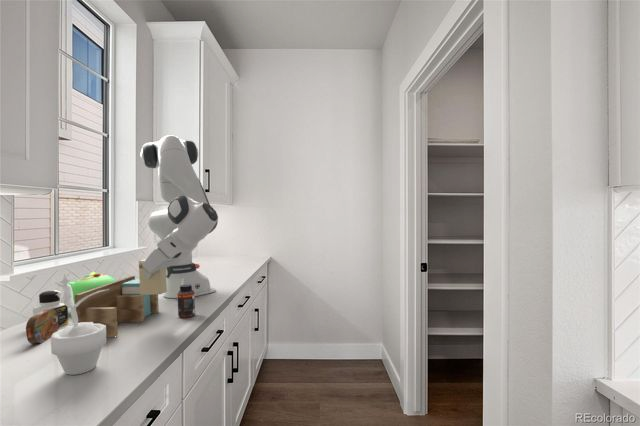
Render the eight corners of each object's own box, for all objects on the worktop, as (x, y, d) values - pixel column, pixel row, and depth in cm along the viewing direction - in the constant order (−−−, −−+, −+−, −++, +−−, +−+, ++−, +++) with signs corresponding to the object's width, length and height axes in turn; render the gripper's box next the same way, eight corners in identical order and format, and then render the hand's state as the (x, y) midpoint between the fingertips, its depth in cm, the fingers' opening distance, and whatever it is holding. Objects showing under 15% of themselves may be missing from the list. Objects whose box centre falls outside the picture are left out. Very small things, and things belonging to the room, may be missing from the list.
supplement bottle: (198, 315, 135) (197, 284, 135) (184, 319, 130) (183, 287, 130) (188, 312, 139) (187, 282, 139) (174, 316, 134) (173, 286, 134)
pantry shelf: (158, 311, 141) (157, 275, 141) (109, 340, 111) (107, 294, 111) (132, 311, 142) (130, 275, 141) (76, 340, 112) (74, 294, 111)
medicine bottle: (48, 330, 122) (46, 294, 122) (33, 328, 125) (31, 293, 124) (68, 323, 129) (67, 289, 129) (54, 321, 131) (53, 288, 131)
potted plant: (42, 384, 84) (38, 275, 83) (64, 363, 95) (61, 267, 95) (103, 376, 87) (99, 271, 86) (118, 357, 98) (115, 264, 98)
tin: (36, 347, 107) (35, 318, 107) (24, 348, 107) (22, 319, 106) (61, 330, 122) (60, 305, 122) (50, 331, 121) (49, 306, 121)
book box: (167, 291, 123) (165, 258, 123) (161, 294, 119) (159, 260, 119) (146, 291, 124) (145, 259, 123) (139, 294, 120) (138, 261, 119)
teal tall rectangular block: (150, 313, 139) (149, 279, 138) (140, 319, 132) (139, 283, 131) (134, 313, 139) (133, 279, 139) (123, 319, 132) (121, 283, 132)
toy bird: (91, 317, 136) (90, 277, 136) (56, 314, 141) (54, 276, 140) (128, 304, 154) (127, 269, 153) (96, 302, 158) (95, 268, 158)
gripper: (185, 235, 131) (159, 263, 132) (156, 241, 111) (126, 274, 111) (198, 248, 131) (172, 275, 132) (171, 256, 110) (141, 288, 111)
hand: (151, 275), depth 121 cm, fingers closed on book box, 4 cm apart
